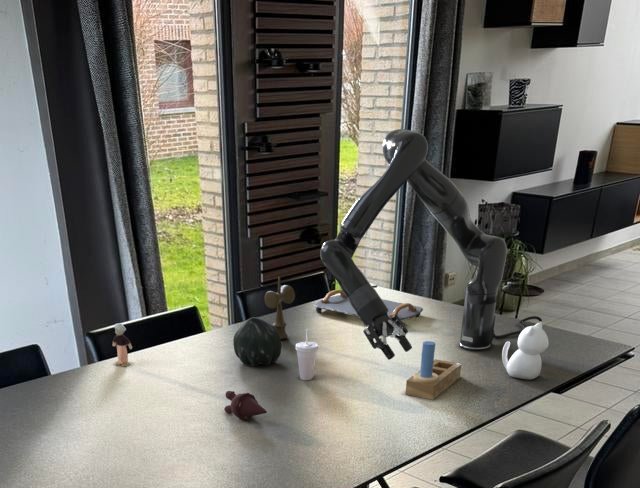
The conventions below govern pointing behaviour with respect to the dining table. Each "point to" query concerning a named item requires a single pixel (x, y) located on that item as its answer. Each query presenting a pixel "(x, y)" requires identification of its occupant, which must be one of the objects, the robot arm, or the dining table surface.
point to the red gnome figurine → (243, 405)
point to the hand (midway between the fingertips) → (400, 353)
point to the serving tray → (344, 306)
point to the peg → (427, 364)
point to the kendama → (280, 305)
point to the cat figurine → (526, 353)
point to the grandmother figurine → (121, 345)
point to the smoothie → (306, 358)
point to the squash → (257, 342)
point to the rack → (446, 377)
